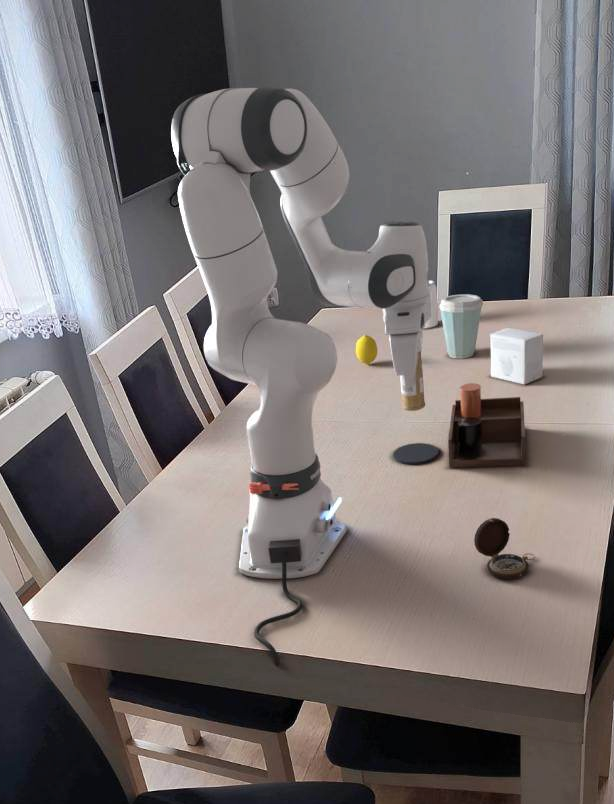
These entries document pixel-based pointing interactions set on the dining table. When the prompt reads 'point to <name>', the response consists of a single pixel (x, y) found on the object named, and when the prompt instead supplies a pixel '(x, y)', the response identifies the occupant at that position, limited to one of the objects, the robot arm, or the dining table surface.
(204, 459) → the dining table surface
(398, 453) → the coaster
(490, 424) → the spice rack
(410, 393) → the sprinkles bottle
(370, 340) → the lemon
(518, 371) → the cosmetics box
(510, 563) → the compass
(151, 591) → the dining table surface
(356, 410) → the dining table surface
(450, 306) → the disposable coffee cup
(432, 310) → the can
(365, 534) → the dining table surface
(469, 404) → the terracotta spice jar
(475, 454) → the black spice tin
